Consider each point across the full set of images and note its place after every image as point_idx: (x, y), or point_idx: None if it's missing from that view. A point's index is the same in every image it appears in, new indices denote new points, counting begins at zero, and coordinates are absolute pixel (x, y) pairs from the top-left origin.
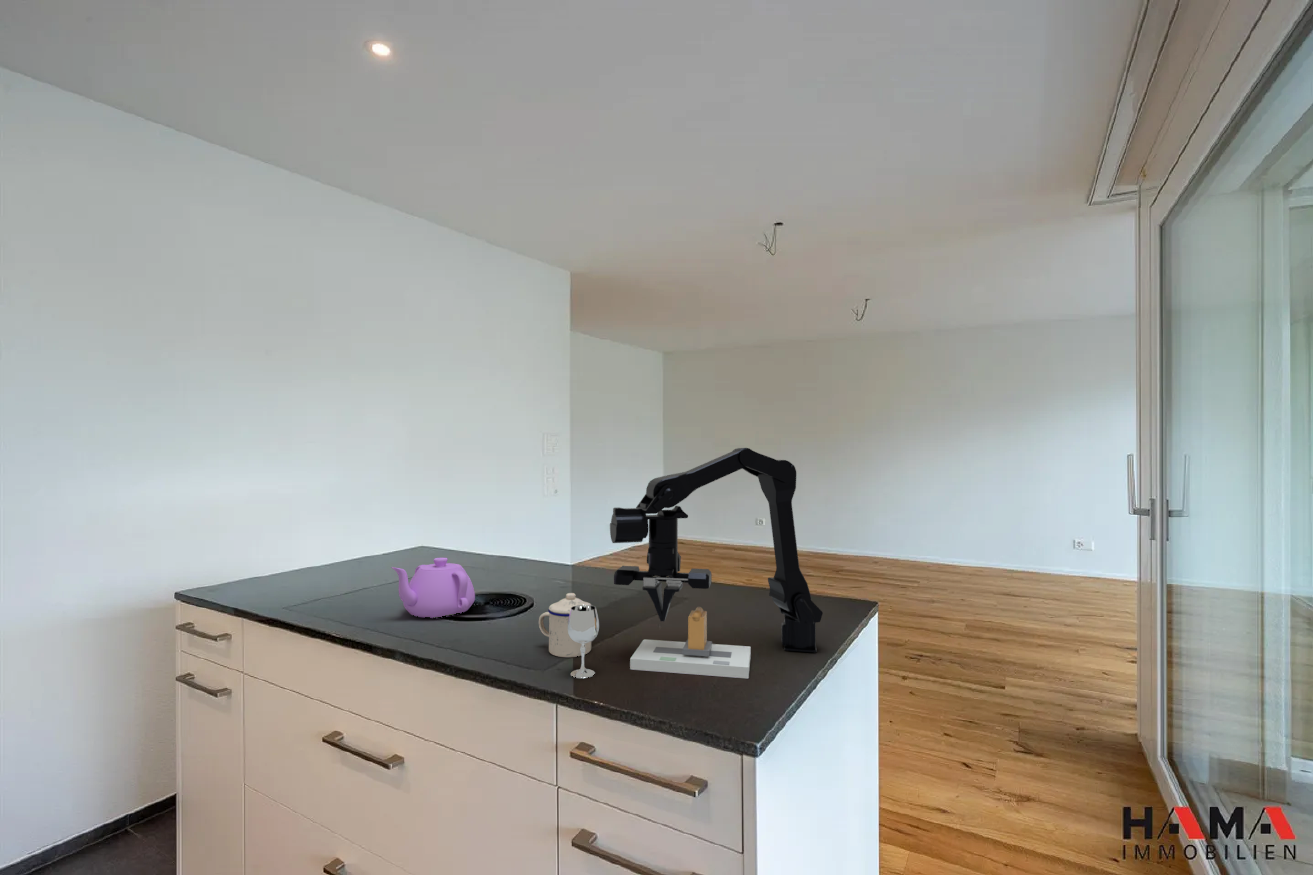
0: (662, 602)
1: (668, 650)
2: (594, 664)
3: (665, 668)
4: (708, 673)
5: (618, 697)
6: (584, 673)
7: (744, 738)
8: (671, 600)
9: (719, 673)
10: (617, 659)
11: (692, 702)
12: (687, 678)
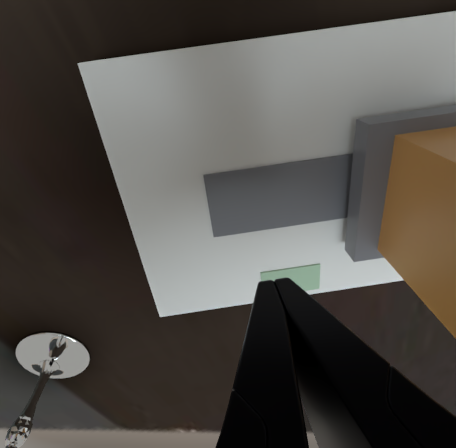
0: (297, 390)
1: (273, 203)
2: (28, 294)
3: None
4: None
5: (213, 409)
6: (67, 369)
7: None
8: (422, 396)
9: None
10: (68, 230)
11: None
12: (348, 289)
